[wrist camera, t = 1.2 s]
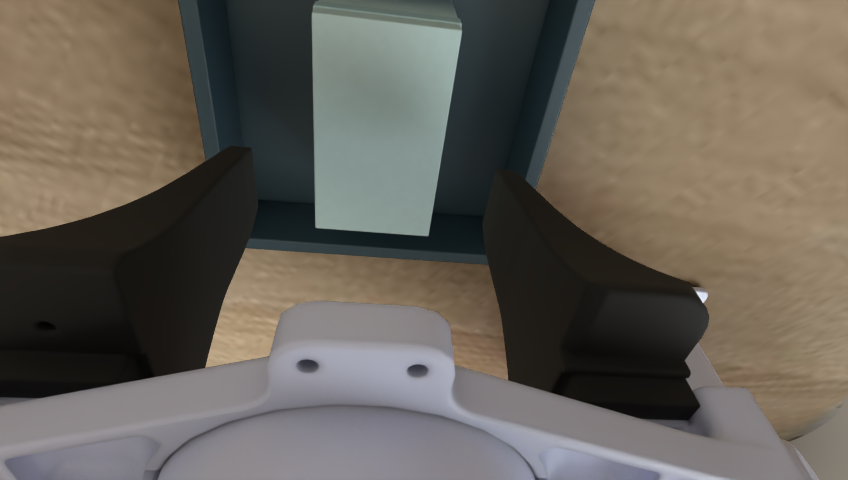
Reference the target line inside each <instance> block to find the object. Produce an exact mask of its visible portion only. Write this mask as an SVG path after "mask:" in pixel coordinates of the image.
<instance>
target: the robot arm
mask: <svg viewBox="0 0 848 480" xmlns="http://www.w3.org/2000/svg"><path fill="white" fill-rule="evenodd" d="M257 209H258V200H257V190H256V181H255V171H254V162H253V152H252V148H250V147H239V146H229V147H227V148H225V149H224V150H222V151H220V152H219V153H217V154H216V155H214V156H213V157H211V158H210V159H208V160H207V161H205V162H204V163H202V164H201V165H199V166H198V167H196V168H194V169H193V170H191V171H190V172H188V173H187V174H185V175H183V176H181V177H180V178H178V179H176V180H174V181H173V182H171V183H169V184H167V185H166V186H164V187H162V188H160V189H158V190H156V191H155V192H153V193H150V194H148V195H146V196H144V197H142V198H140V199H137V200H135V201H133V202H131V203H128V204H126V205H123V206H120V207H117V208H115V209H112V210H109V211H106V212H103V213H100V214H98V215H95V216H92V217H88V218H85V219H81V220H78V221H74V222H71V223H67V224H63V225H59V226H55V227H50V228H46V229H41V230H36V231H31V232H25V233H20V234H15V235H9V236H3V237H0V480H819V478H818V477H817V476H816V474H815V473H814V471H813V470H812V469H811V467H810V466H809V465H808V463H807V462H806V460H805V459H804V458H803V456H802V455H801V454H800V452H799V451H798V450H797V448H796V447H795V446H794V445H793V444H792V443H790V442H787V441H785V440H782V439H780V438H779V437H778V435H777V433H776V432H775V430H774V429H773V427H772V426H771V424H770V422H769V421H768V419H767V418H766V416H765V415H764V413H763V412H762V410H761V408H760V407H759V405H758V404H757V402H756V401H755V399H754V397H753V396H752V394H751V393H750V391H749V390H748V389H747V388H743V387H725V386H724V385H723V383H722V381H721V380H720V378H719V376H718V375H717V373H716V371H715V370H714V368H713V366H712V365H711V363H710V361H709V360H708V358H707V356H706V355H705V353H704V351H703V350H702V348H701V346H700V345H699V343H698V342H699V340H700V339H701V338H702V336H703V334H704V332H705V330H706V329H707V327H708V322H709V314H708V311H707V308H706V306H705V305H704V301H705V300H706V299H707V297H708V293H707V291H706V290H705V289H704V288H701V287H692V285H691V284H690V283H688V282H686V281H683V280H680V279H678V278H675V277H672V276H669V275H667V274H664V273H661V272H658V271H656V270H654V269H651V268H649V267H647V266H645V265H642V264H640V263H638V262H636V261H634V260H632V259H630V258H628V257H625V256H624V255H622V254H620V253H618V252H616V251H614V250H613V249H611V248H609V247H607V246H606V245H604V244H602V243H601V242H599V241H597V240H596V239H594V238H593V237H591V236H590V235H588V234H587V233H586V232H584V231H583V230H581V229H580V228H578V227H577V226H576V225H574V224H573V223H572V222H571V221H569V220H568V219H567V218H566V217H565V216H563V215H562V214H561V213H560V212H559V211H557V210H556V209H555V208H554V207H553V206H552V205H551V204H550V203H549V202H548V201H546V200H545V199H544V198H543V197H542V196H541V195H540V194H539V193H538V192H537V191H536V190H535V189H534V188H533V187H532V186H531V185H530V184H529V183H528V182H527V181H526V180H525V179H524V178H523V177H522V176H521V175H519V174H518V173H517V172H516V171H509V170H497V169H496V171H495V175H494V179H493V183H492V187H491V191H490V195H489V199H488V203H487V207H486V211H485V215H484V219H483V235H484V244H485V252H486V256H487V260H488V264H489V268H490V272H491V276H492V280H493V284H494V288H495V292H496V295H497V299H498V303H499V308H500V313H501V318H502V325H503V333H504V341H505V350H506V359H507V369H508V380H505V379H502V378H498V377H495V376H491V375H488V374H485V373H481V372H478V371H474V370H471V369H467V368H464V367H461V366H457V365H454V357H453V347H452V338H451V331H450V325H449V322H448V321H446V320H445V319H444V318H443V317H442V316H441V315H440V314H438V313H437V312H436V311H432V310H428V309H424V308H420V307H416V306H404V305H386V304H369V303H351V302H334V301H314V302H306V303H298V304H296V305H294V306H292V307H291V308H289V309H288V310H286V311H285V312H283V313H282V314H281V316H280V319H279V322H278V325H277V328H276V332H275V336H274V340H273V344H272V348H271V352H270V356H268V357H262V358H257V359H251V360H246V361H240V362H235V363H229V364H224V365H219V366H213V367H208V368H205V366H206V362H207V358H208V354H209V350H210V346H211V342H212V339H213V335H214V331H215V327H216V324H217V320H218V317H219V313H220V310H221V306H222V303H223V300H224V297H225V295H226V292H227V289H228V287H229V285H230V282H231V280H232V278H233V275H234V273H235V271H236V268H237V266H238V264H239V261H240V259H241V257H242V255H243V252H244V250H245V247H246V245H247V243H248V240H249V238H250V235H251V233H252V229H253V225H254V221H255V217H256V213H257Z"/></svg>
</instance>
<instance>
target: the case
mask: <svg viewBox="0 0 848 480" xmlns="http://www.w3.org/2000/svg"><path fill="white" fill-rule="evenodd" d="M461 28H462V23H461V20H460V19H459V18H458V17H457V14H456V11H455V8H454V5H453V2H452V0H318V1H315V3H314V5H313V12H312V66H313V123H314V180H315V227H316V228H323V229H336V230H350V231H363V232H377V233H390V234H404V235H417V236H428V235H429V230H430V224H431V218H432V211H433V205H434V199H435V193H436V187H437V181H438V175H439V169H440V163H441V157H442V151H443V145H444V139H445V133H446V127H447V120H448V114H449V108H450V102H451V96H452V90H453V84H454V78H455V72H456V66H457V60H458V54H459V48H460V42H461V36H462V29H461Z"/></svg>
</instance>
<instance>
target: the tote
mask: <svg viewBox="0 0 848 480" xmlns="http://www.w3.org/2000/svg"><path fill="white" fill-rule="evenodd" d="M315 1H318V0H178V2H179V8H180V14H181V20H182V26H183V31H184V37H185V43H186V49H187V54H188V60H189V66H190V72H191V77H192V83H193V89H194V95H195V101H196V106H197V112H198V118H199V124H200V129H201V135H202V141H203V147H204V153H205V158H206V161H207V160H208V159H210V158H211V157H213V156H214V155H216V154H217V153H219V152H220V151H222V150H224V149H225V148H227V147H229V146H239V147H250V148H252V152H253V162H254V171H255V181H256V190H257V200H258V209H257V213H256V217H255V221H254V225H253V229H252V233H251V235H250V238H249V240H248V243H247V245H246V247H245V248H252V249H266V250H281V251H295V252H310V253H325V254H339V255H354V256H368V257H383V258H397V259H412V260H426V261H441V262H455V263H470V264H485V265H489V264H488V260H487V256H486V252H485V244H484V235H483V219H484V215H485V211H486V207H487V203H488V199H489V195H490V191H491V187H492V183H493V179H494V175H495V171H496V169H497V170H509V171H516V172H517V173H518V174H519V175H521V176H522V177H523V178H524V179H525V180H526V181H527V182H528V183H529V184H530V185H531V186H532V187H533V188H534V189H535V190H536V187H537V184H538V180H539V177H540V174H541V171H542V168H543V165H544V161H545V158H546V155H547V152H548V149H549V145H550V142H551V139H552V136H553V133H554V130H555V126H556V123H557V120H558V117H559V114H560V110H561V107H562V104H563V101H564V98H565V94H566V91H567V88H568V85H569V82H570V79H571V75H572V72H573V69H574V66H575V63H576V59H577V56H578V53H579V50H580V47H581V44H582V40H583V37H584V34H585V31H586V28H587V24H588V21H589V18H590V15H591V12H592V9H593V5H594V2H595V0H452V2H453V5H454V8H455V11H456V14H457V17H458V18H459V19H460V20H461V23H462V28H461V29H462V36H461V42H460V48H459V54H458V60H457V66H456V72H455V78H454V84H453V90H452V96H451V102H450V108H449V114H448V120H447V127H446V133H445V139H444V145H443V151H442V157H441V163H440V169H439V175H438V181H437V187H436V193H435V199H434V205H433V211H432V218H431V224H430V230H429V235H428V236H417V235H404V234H390V233H377V232H363V231H350V230H336V229H323V228H316V227H315V180H314V123H313V66H312V12H313V5H314V3H315Z"/></svg>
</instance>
